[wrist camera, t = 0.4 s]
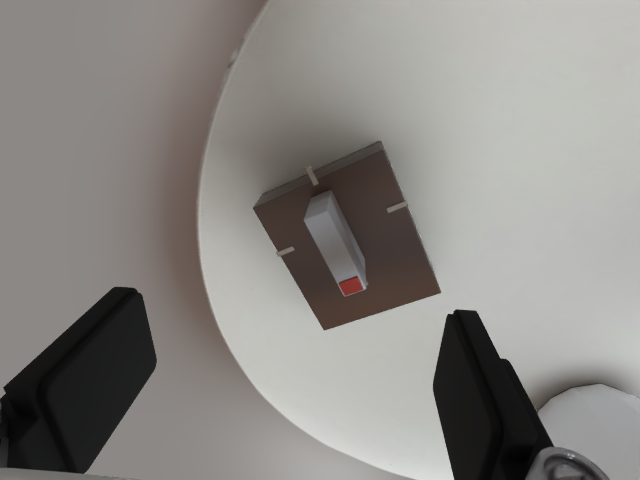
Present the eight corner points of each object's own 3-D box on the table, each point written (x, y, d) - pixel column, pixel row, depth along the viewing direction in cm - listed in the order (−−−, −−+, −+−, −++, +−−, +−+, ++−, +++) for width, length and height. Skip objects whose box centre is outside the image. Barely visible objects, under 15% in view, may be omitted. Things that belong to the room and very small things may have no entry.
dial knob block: (253, 182, 29) (242, 196, 26) (376, 125, 26) (378, 133, 23) (325, 309, 33) (322, 332, 30) (435, 272, 31) (443, 293, 28)
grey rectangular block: (310, 197, 25) (302, 221, 22) (331, 188, 25) (326, 211, 21) (345, 266, 28) (344, 299, 24) (365, 259, 27) (366, 291, 23)
